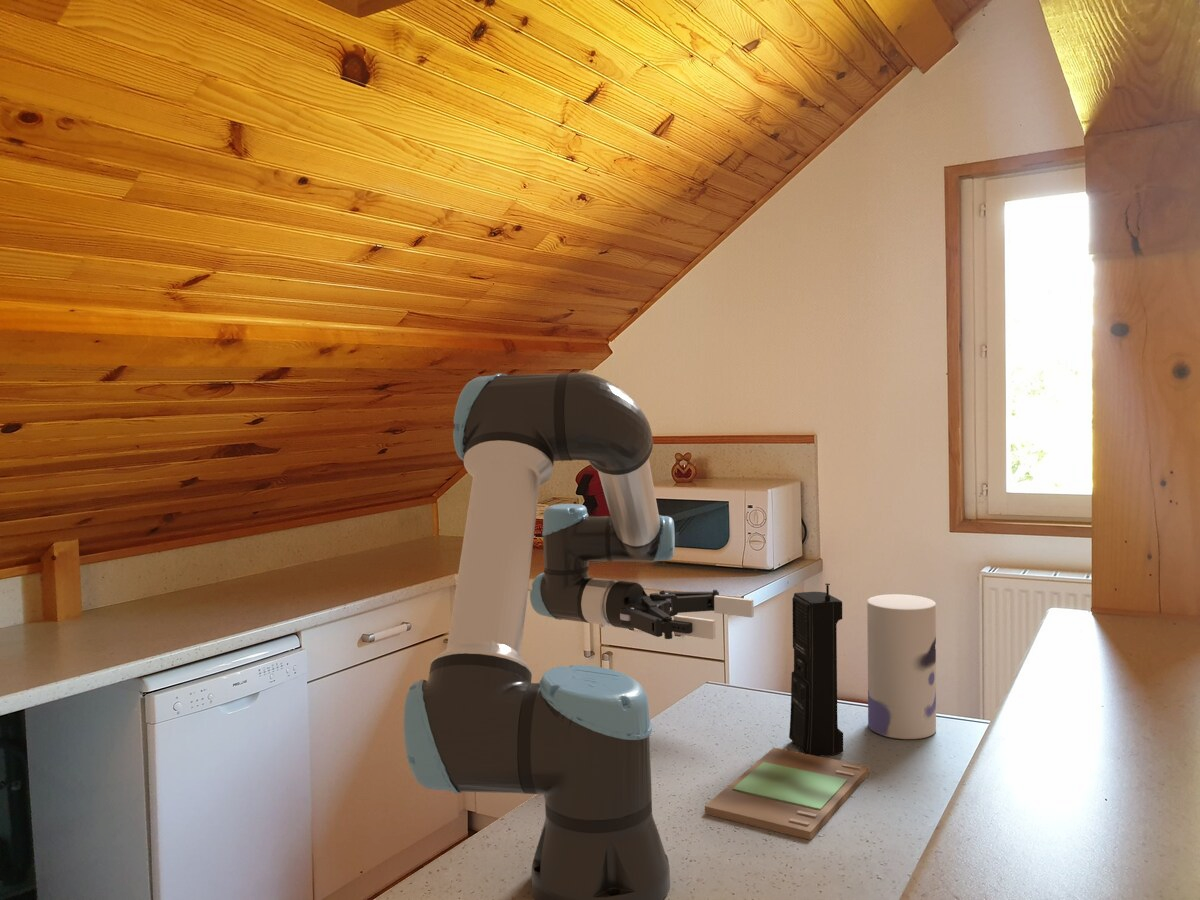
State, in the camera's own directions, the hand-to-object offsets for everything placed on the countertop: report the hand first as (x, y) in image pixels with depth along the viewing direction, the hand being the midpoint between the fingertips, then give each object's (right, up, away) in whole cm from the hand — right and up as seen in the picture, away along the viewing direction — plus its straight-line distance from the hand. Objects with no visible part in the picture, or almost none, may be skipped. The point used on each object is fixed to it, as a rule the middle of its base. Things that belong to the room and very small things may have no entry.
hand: (734, 618), depth 148 cm
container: (+26, -18, +2) cm, 32 cm away
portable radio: (+11, -18, -4) cm, 22 cm away
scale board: (+5, -20, -19) cm, 28 cm away
